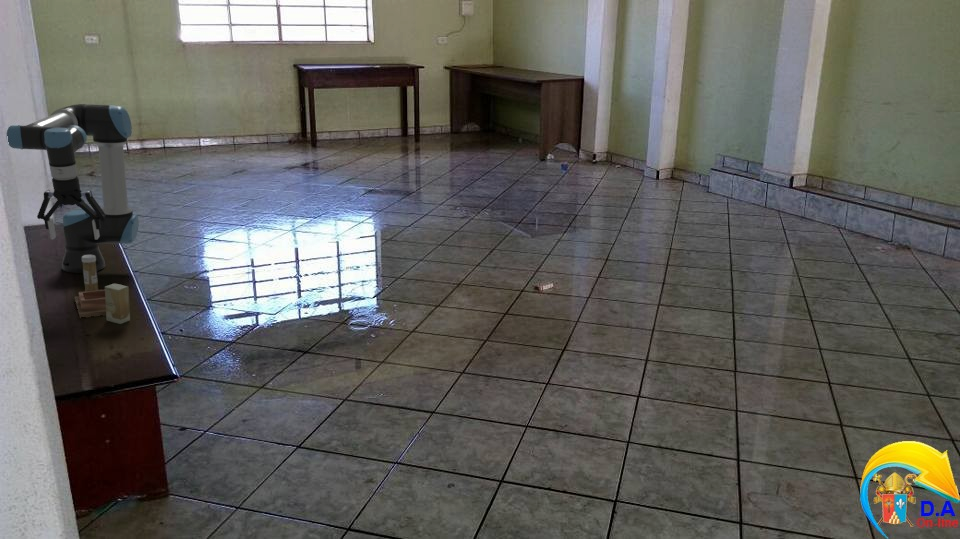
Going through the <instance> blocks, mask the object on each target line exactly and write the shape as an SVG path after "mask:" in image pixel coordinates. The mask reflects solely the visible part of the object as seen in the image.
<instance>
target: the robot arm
mask: <svg viewBox="0 0 960 539" xmlns="http://www.w3.org/2000/svg"><path fill="white" fill-rule="evenodd" d="M132 129H133V128H132V121H131V117H130V115H129V112H128V111H127V109H125V107H123V106H121V105H119V106H118V105H113V104H110V105H109V104H86V103H78V104H72V105H68V106H64V107H61V108H59V109H56V110H54V111H53V112H51V113H50V115H49V116H46V117H44V118H42V119H38V120H37V121H34V122H31V123H29V124H27V125H20V124H18V125H10V126H8V127H7V130H6V137H7V136H8V142H9V144H8V146H9V147H10V148H12V149H17V150H19V149H20V150H38V151H39V150H40V151H41V150H42V151H46V154H47V159H48V164H49V171H50V175H51V177H52V178H51V181H52V187H53V191H51V190H50V189H46V191H44V192H43V199H42V202H41V206H40V208H39V211H38V213H37V216H36V217H37V219H39V220H40V219H41V220H43V221H44V225H45V226H44V227H45V229H46V230H48V232H49V238H50V240H52V241H53V240H55V238H56V237H57V233H56V228H55V222H54V221H55V220H54V217H53V218H52V216H53V215H54V213H55V212H56V211H57V209H58V208H60V205H62V206H75V205H76V206H77V207H78V208H80V209H75V210H71V211H68V212H65V214H63V216H62V227H63V229H62V230H63V237H64V245H65V250H64V255H63V258H62V262H61V268H62V270H63V271H64V272H66V273H72V274H83V263H82V256H84V255H95V256H96V270H97V272H98V271H101V270H103V269H104V268H105V267H106V263H105V258H104V257H103V254H102V252H101V250H100V247H99V244H117V245H125V244H132V243H134V242H135V241H136V238H137V235H138V232H139V223H140V221H139V216H138V215H137V214H133V212H134V211H133V209H132V208H131V207H130V206H129V204H128V193H127V192H128V191H127V189H128V188H127V179H126V176H127V175H126V166H125V154H124V145H125V144H127V142H128V138H130V137H131V136H132ZM89 136H90V137H91V136H92V141H93V143H95V144H96V145H97V146H98V157H99V167H100V168H99V169H100V180H101V189H102V190H101V192H102V201H103V202H102V203H103V207H101V206H100V205H99V203H98V202H97V200H96V199H95V198H94V195H93V194H92V190H89V189H88V190H87V191H82V190H81V185H80V180H79V177H78V173H79V172H78V169H77V168H78V167H77V161H76V156H75V153H76V151H78V150H80V149H81V148H83V147H84V145H85V144H86V143H87V138H88V137H89ZM8 142H7V143H8ZM82 197H84V198H82ZM51 198H55V199H56V202H55V203H54V204H53V206H52V207H51V208H50V209H49V210H48V212H47V213H46V210H47V209H48V205H49V203H50V201H51ZM84 199H86V201H87V202H88V204H89V205H88V204H87V203H86V202H85V200H84ZM90 206H91V207H90ZM45 213H46V214H45Z"/></svg>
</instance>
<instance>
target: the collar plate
mask: <svg viewBox="0 0 960 539" xmlns="http://www.w3.org/2000/svg"><path fill="white" fill-rule="evenodd" d="M74 302H76V303H75V305H76V309H78V310H77V312H78V316H79V319H82V318H81V317H86V318H92V317H91V316H94V317H100V315H103V316H106V300H105V288H104V289H99V290H95V291H85V290H84V291H78V296H74Z"/></svg>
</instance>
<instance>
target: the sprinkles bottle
mask: <svg viewBox="0 0 960 539" xmlns="http://www.w3.org/2000/svg"><path fill="white" fill-rule="evenodd" d="M82 263H83V273H82V274H83V282H84V288H85V289H84V292H85V291H95V290H100V289H99V285H98V283H99V281H98V274H97V273H98V271H97V270H96V256H95V255H84V256H82Z"/></svg>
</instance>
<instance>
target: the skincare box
mask: <svg viewBox="0 0 960 539" xmlns="http://www.w3.org/2000/svg"><path fill="white" fill-rule="evenodd" d="M104 289H105V300H106V315H105V316H106V317H105V318H106V321H107V322H108V321H109V322H111V323H114V324H115V323H116V324H120V325H123V324H124V323H127V322H130V321H131V313H130V312H131V311H130V309H131V308H130V294H129V291H130V289H129V286H128V285H127V286H126V285H122V284H118V283H112V284H109V285H106V286H104Z"/></svg>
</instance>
